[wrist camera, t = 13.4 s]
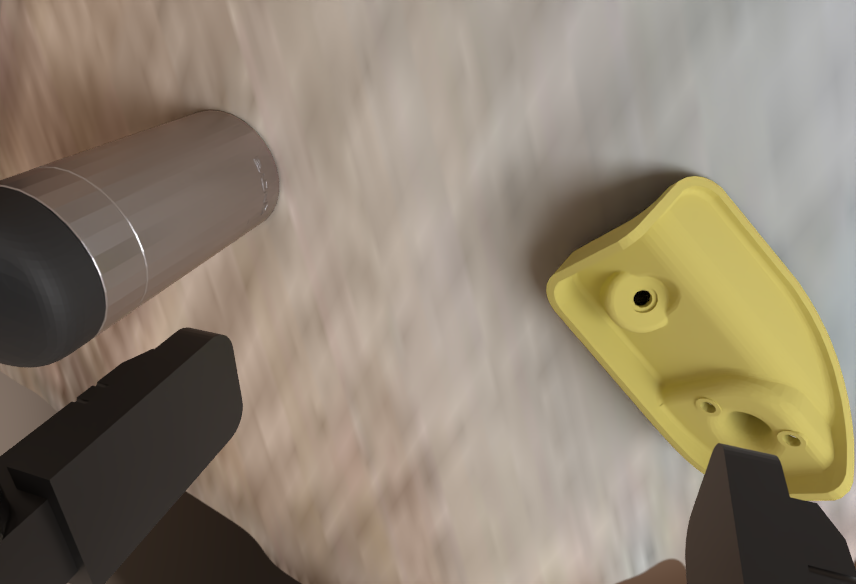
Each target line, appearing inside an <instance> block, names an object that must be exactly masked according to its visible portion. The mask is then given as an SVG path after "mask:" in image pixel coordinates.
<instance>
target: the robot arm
mask: <svg viewBox="0 0 856 584" xmlns="http://www.w3.org/2000/svg"><path fill="white" fill-rule="evenodd" d="M278 195H279V177H278V172H277V167H276V164H275V162H274V159H273V156H272V154H271V152H270V150H269V149H268V147H267V145H266V144H265V142H264V141H263V140H262V138H261V137H260V136H259V135H258V134H257V132H256V131H255V130H254V129H252V128H251V127H250V126H249V125H248V124H247V123H245V122H244V121H242V120H241V119H239V118H237V117H235V116H234V115H231V114H228V113H225V112H222V111H214V110H207V111H202V112H197V113H194V114H192V115H189V116H186V117H183V118H180V119H177V120H174V121H171V122H168V123H165V124H162V125H159V126H156V127H153V128H150V129H147V130H144V131H142V132H139V133H136V134H133V135H130V136H127V137H124V138H121V139H118V140H115V141H112V142H110V143H107V144H104V145H101V146H98V147H95V148H92V149H89V150H86V151H83V152H81V153H78V154H75V155H72V156H69V157H66V158H63V159H60V160H57V161H54V162H52V163H49V164H46V165H43V166H40V167H37V168H34V169H31V170H29V171H26V172H23V173H21V174H18V175H15V176H12V177H9V178H6V179H3V180H0V363H1V364H6V365H10V366H17V367H40V366H45V365H49V364H52V363H54V362H56V361H59V360H61V359H63V358H64V357H66V356H68V355H69V354H71V353H72V352H74V351H75V350H77V349H78V348H80V347H81V346H83V345H84V344H86V343H87V342H88V341H90V340H91V339H93V338H94V337H96V336H97V335H99V334H100V333H102V332H103V331H105V330H106V329H108V328H109V327H110V326H112V325H113V324H115V323H116V322H118V321H119V320H121V319H122V318H124V317H125V316H127V315H128V314H129V313H131V312H132V311H133V310H135V309H136V308H138V307H139V306H141V305H142V304H144V303H145V302H147V301H148V300H150V299H151V298H152V297H154V296H155V295H157V294H158V293H160V292H161V291H163V290H164V289H166V288H167V287H169V286H170V285H171V284H173V283H174V282H176V281H177V280H179V279H180V278H182V277H183V276H185V275H186V274H188V273H189V272H190V271H192V270H193V269H195V268H196V267H198V266H199V265H201V264H202V263H204V262H205V261H207V260H208V259H210V258H211V257H212V256H214V255H215V254H217V253H218V252H220V251H221V250H223V249H224V248H226V247H227V246H229V245H230V244H231V243H233V242H235V241H236V240H237V239H239V238H240V237H242V236H243V235H245V234H246V233H247V232H249V231H250V230H252V229H253V228H255V227H256V226H257V225H259V224H260V223H262V222H263V221H265V220H266V219H267V218H268V217H269V216H270V214H271V213H272V212H273V210H274V208H275V206H276V204H277V200H278ZM242 410H243V403H242V396H241V391H240V385H239V379H238V374H237V368H236V362H235V357H234V351H233V346H232V343H231V341H230V339H229V338H228V337H227V336H225V335H221V334H216V333H212V332H207V331H202V330H198V329H193V328H182V329H180V330H178V331H177V332H176V333H174V334H173V335H172V336H171V337H169V338H168V339H167V340H165V341H164V342H163V343H162V344H160V345H159V346H158V347H157V348H155V349H151V350H149V351H147V352H145V353H143V354H140V355H138V356H136V357H134V358H132V359H130V360H127V361H125V362H123V363H121V364H120V365H119V366H117V367H116V368H115V369H113V370H112V371H111V372H110V373H108V374H107V375H106V376H104V377H103V378H102V379H100V380H99V381H98V382H97V385H96V386H91V387H90V388H89V389H87V390H86V391H85V392H83V393H82V394H81V395H80V396H78V397H77V401H76V402H70V403H69V404H68V405H67V406H65V407H64V408H63V409H61V410H60V411H59V412H57V413H56V414H55V415H54V416H52V417H51V418H50V419H49V420H47V421H46V422H44V423H43V424H42V425H41V426H39V427H38V428H37V429H35V430H34V431H33V432H31V433H30V434H29V435H28V436H26V437H25V438H24V439H22V440H21V441H20V442H19V443H17V444H16V445H15V446H13V447H12V448H11V449H9V450H8V451H7V452H5V453H4V454H3V455H1V456H0V584H66V583H67V582H68V583H71V584H105V583H106V581H107V580H108V579H109V578H110V577H111V576H112V575H113V573H114V572H115V571H116V570H117V569H118V568H119V566H120V565H121V564H122V563H123V562H124V561H125V560H126V558H127V557H128V556H129V555H130V554H131V553H132V551H133V550H134V549H135V548H136V547H137V546H138V544H139V543H140V542H141V541H142V540H143V539H144V538H145V537H146V535H147V534H148V533H149V532H150V531H151V530H152V529H153V527H154V526H155V525H156V524H157V523H158V522H159V521H160V519H161V518H162V517H163V516H164V515H165V514H166V513H167V511H168V510H169V509H170V508H171V507H172V506H173V504H174V503H175V502H176V501H177V500H178V499H179V498H180V496H181V495H182V494H183V493H184V492H185V491H186V490H187V488H188V487H189V486H190V485H191V484H192V483H193V481H194V480H195V479H196V478H197V477H198V476H199V475H200V473H201V472H202V471H203V470H204V469H205V468H206V467H207V465H208V464H209V463H210V462H211V461H212V460H213V459H214V457H215V456H216V455H217V454H218V453H219V452H220V450H221V449H222V448H223V447H224V446H225V445H226V444H227V442H228V441H229V440H230V439H231V438H232V436H233V435H234V433H235V432H236V430H237V428H238V426H239V423H240V420H241V416H242ZM685 560H686V578H687V584H856V569H855V566H854V563H853V560H852V557H851V555H850V552H849V549H848V546H847V543H846V540H845V538H844V537H843V536H842V535H841V533H840V532H839V531H838V529H837V528H836V527H835V526H834V524H833V523H832V522H831V521H830V519H829V518H828V517H827V516H826V514H825V513H824V512H823V510H822V509H821V508H820V507H819V505H818V504H817V503H813V502H809V501H804V500H800V499H796V498H791V497H790V495H789V491H788V487H787V484H786V480H785V476H784V472H783V468H782V465H781V462H780V460H779V458H778V457H777V456H776V455H773V454H768V453H763V452H759V451H754V450H750V449H745V448H740V447H736V446H731V445H726V444H722V443H718V444H717V445H716V446H715V447H714V449H713V452H712V454H711V457H710V460H709V463H708V466H707V469H706V472H705V475H704V478H703V481H702V484H701V486H700V489H699V492H698V495H697V498H696V501H695V504H694V507H693V510H692V513H691V516H690V520H689V525H688V530H687V537H686V550H685Z"/></svg>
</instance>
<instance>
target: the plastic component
mask: <svg viewBox="0 0 856 584" xmlns="http://www.w3.org/2000/svg"><path fill="white" fill-rule="evenodd" d="M641 290H646V291H648V292H649V294H650V299H649V302H647V303H646V304H645V305H642V306H639V305H636V304H635V303H634V301H633V299H634V295H635V294H636V293H637V292H638V291H641ZM546 293H547V297H548V300H549V302H550V305H551V306H552V308H553V309H554V311H555V312H556V313H557V314H558V315H559V317H560V318H561V319H562V320H563V321H564V322H565V324H566V325H567V326H568V327H569V328H570V329H571V331H572V332H573V333H574V334H575V335H576V336H577V337H578V339H579V340H580V341H581V342H582V343H583V344H584V346H585V347H586V348H587V349H588V350H589V351H590V353H591V354H592V355H593V356H594V357H595V358H596V360H597V361H598V362H599V363H600V364H601V365H602V366H603V368H604V369H605V370H606V371H607V372H608V373H609V375H610V376H611V377H612V378H613V379H614V380H615V382H616V383H617V384H618V385H619V386H620V387H621V388H622V390H623V391H624V392H625V393H626V394H627V395H628V397H629V398H630V399H631V400H632V401H633V402H634V404H635V405H636V406H637V407H638V408H639V409H640V410H641V412H642V413H643V414H644V415H645V416H646V417H647V419H648V420H649V421H650V422H651V423H652V424H653V425H654V427H655V428H656V429H657V430H658V431H659V432H660V433H661V434H662V436H663V437H664V438H665V439H666V440H667V441H668V442H669V443H670V444H671V445H672V446H673V447H674V448H675V450H676V451H677V452H678V453H679V454H681V455H682V456H683V457H684V458H685V459H686V460H687V461H688V462H689V463H690V464H691V465H693V466H694V467H695V468H696V469H698V470H699V471H700V472H702V473H703V474H705V472H706V469H707V466H708V463H709V460H710V457H711V454H712V452H713V449H714V447H715V446H716V445H717V444H718V443H722V444H726V445H731V446H736V447H740V448H745V449H750V450H754V451H759V452H763V453H768V454H773V455H776V456H777V457H778V458H779V460H780V462H781V465H782V468H783V472H784V476H785V480H786V484H787V487H788V491H789V495H790V497H791V498H796V499H800V500H804V501H828V500H837V499H840V498H842V497H843V496H844V495H845V494H846V493H848V492H849V491H850V489H851V486H852V484H853V477H854V436H853V426H852V418H851V412H850V406H849V400H848V396H847V391H846V387H845V383H844V379H843V375H842V372H841V369H840V365H839V362H838V359H837V356H836V353H835V351H834V348H833V345H832V343H831V340H830V337H829V335H828V333H827V331H826V329H825V327H824V325H823V323H822V321H821V319H820V317H819V315H818V313H817V311H816V309H815V308H814V306H813V304H812V302H811V301H810V299H809V298H808V296H807V294H806V293H805V291H804V290H803V288H802V287H801V285H800V284H799V282H798V281H797V280H796V278H795V277H794V276H793V275H792V273H791V272H790V271H789V270H788V269H787V267H786V266H785V265H784V264H783V262H782V261H781V260H780V259H779V258H778V256H777V255H776V254H775V253H774V251H773V250H772V249H771V248H770V246H769V245H768V244H767V243H766V242H765V240H764V239H763V238H762V237H761V235H760V234H759V233H758V232H757V231H756V229H755V228H754V227H753V226H752V224H751V223H750V222H749V221H748V220H747V218H746V217H745V216H744V215H743V213H742V212H741V211H740V210H739V208H738V207H737V206H736V205H735V204H734V202H733V201H732V200H731V199H730V197H729V196H728V195H727V194H726V193H725V191H724V190H723V189H722V188H721V187H720V186H719V185H717V184H716V183H714V182H713V181H711V180H709V179H706V178H704V177H698V176H692V177H686V178H684V179H682V180H680V181H678V182H677V183H675V184H673V185H671V186H670V187H668V188H667V189H666V191H665V192H664V193H663V194H662V195H661V196H660V197H659V198H658V199H657V200H656V201H655V202H654V203H653V204H652V205H650V206H649V207H648V208H647V209H646V210H644V211H643V212H642V213H640V214H639V215H638V216H636V217H635V218H633V219H632V220H630V221H628V222H626V223H625V224H623V225H621V226H619V227H617V228H615V229H614V230H612V231H610V232H608V233H606V234H604V235H603V236H601V237H599V238H597V239H595V240H593V241H592V242H590V243H588V244H586V245H584V246H582V247H581V248H579V249H577V250H575V251H574V252H572V254H571V255H570V256H569V257H568V258H567V259H566V260H565V261H564V263H563V264H562V265H561V266H560V267H559V268H558V269H557V271H556V272H555V273H554V274H553V275H552V276H551V278H550V279H549V281H548V283H547V288H546ZM707 402H708V403H710V404H712V405H710V404H708V403H707ZM790 435H792V436H795V437H796V438H794V437H792V436H790Z"/></svg>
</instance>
